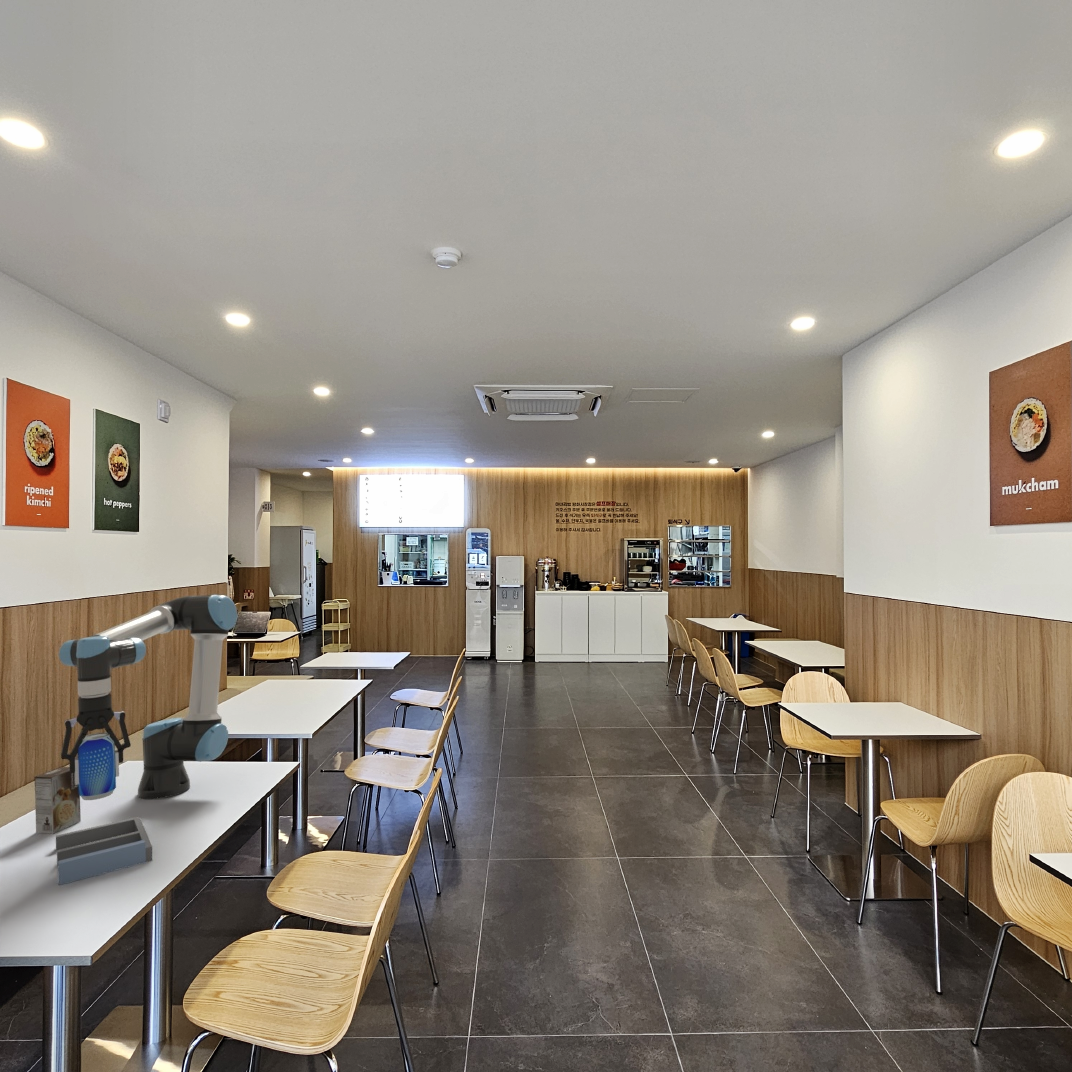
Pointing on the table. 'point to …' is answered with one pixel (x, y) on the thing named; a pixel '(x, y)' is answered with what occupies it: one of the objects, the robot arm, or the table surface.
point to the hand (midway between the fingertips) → (97, 779)
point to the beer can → (96, 766)
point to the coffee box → (56, 800)
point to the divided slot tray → (102, 849)
